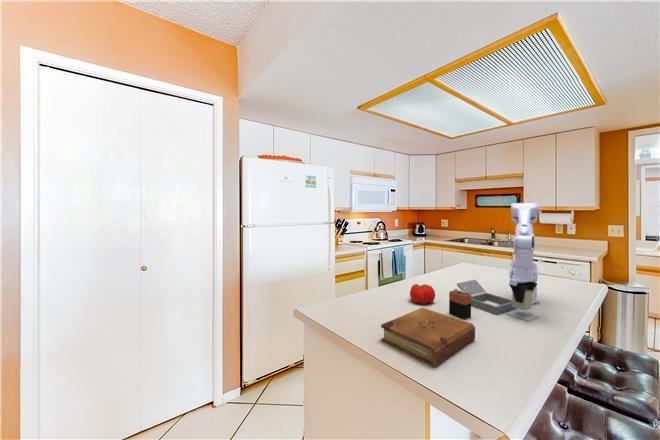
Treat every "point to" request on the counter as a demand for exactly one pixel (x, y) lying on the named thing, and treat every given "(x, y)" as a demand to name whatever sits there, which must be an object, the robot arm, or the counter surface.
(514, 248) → the robot arm
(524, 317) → the mat
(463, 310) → the battery
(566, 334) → the counter surface
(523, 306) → the block
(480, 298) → the case
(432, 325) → the diary
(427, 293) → the tomato
